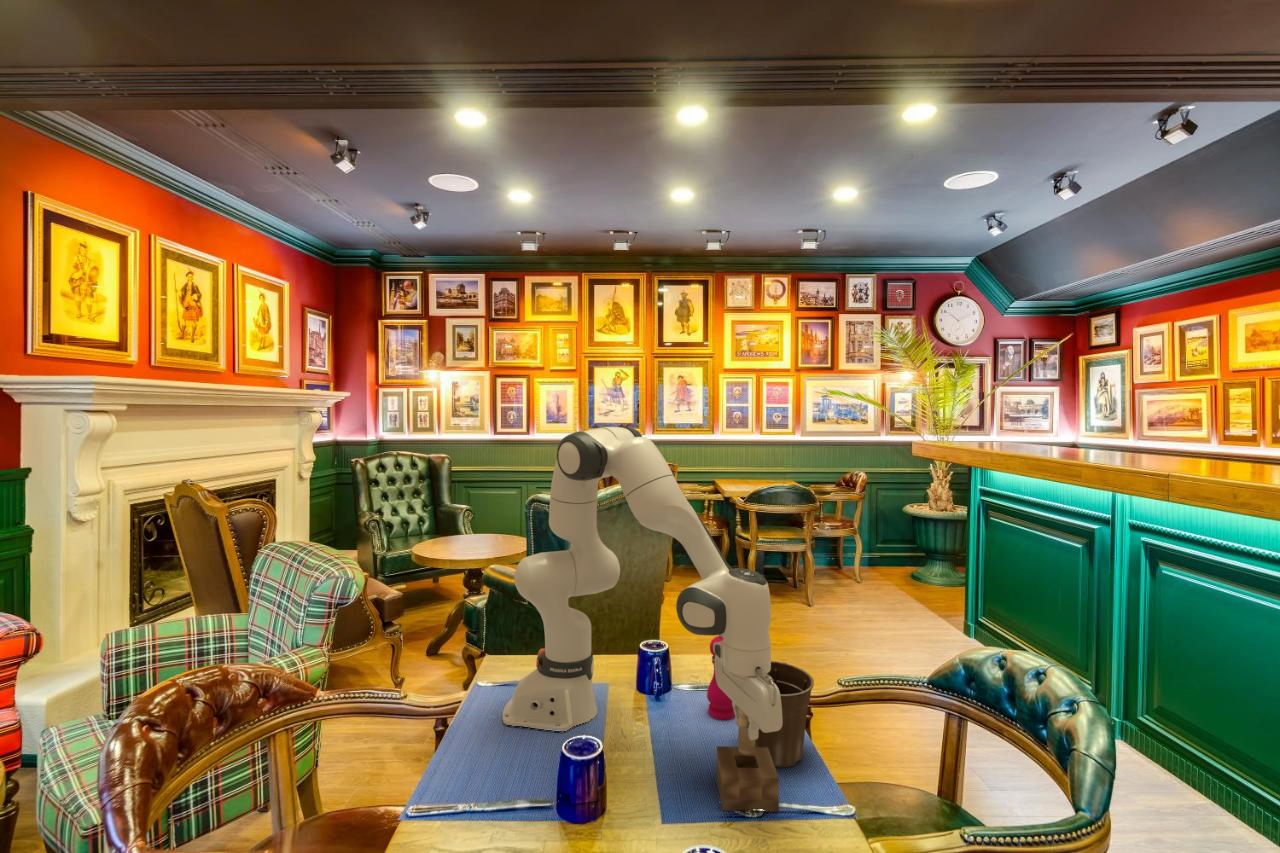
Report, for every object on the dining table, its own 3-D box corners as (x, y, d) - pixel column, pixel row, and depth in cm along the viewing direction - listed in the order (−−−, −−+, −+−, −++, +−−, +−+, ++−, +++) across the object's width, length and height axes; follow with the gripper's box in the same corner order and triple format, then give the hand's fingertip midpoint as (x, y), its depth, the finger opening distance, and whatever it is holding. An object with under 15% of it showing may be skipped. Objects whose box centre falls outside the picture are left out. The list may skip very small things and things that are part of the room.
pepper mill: (736, 707, 142) (736, 625, 142) (738, 722, 135) (738, 636, 135) (706, 705, 143) (707, 624, 143) (707, 720, 136) (707, 635, 136)
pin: (740, 755, 107) (740, 701, 107) (736, 746, 110) (737, 694, 110) (756, 755, 107) (756, 701, 107) (752, 746, 110) (752, 693, 110)
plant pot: (827, 772, 116) (827, 691, 116) (749, 778, 113) (749, 696, 113) (794, 729, 132) (794, 658, 132) (725, 734, 129) (725, 662, 129)
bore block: (722, 810, 104) (722, 777, 104) (716, 776, 114) (716, 746, 114) (778, 811, 104) (778, 778, 104) (767, 777, 114) (767, 747, 114)
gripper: (791, 678, 100) (791, 759, 100) (737, 637, 119) (737, 704, 119) (758, 683, 98) (758, 765, 98) (709, 640, 117) (709, 709, 117)
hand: (746, 731), depth 109 cm, fingers closed on pin, 3 cm apart
